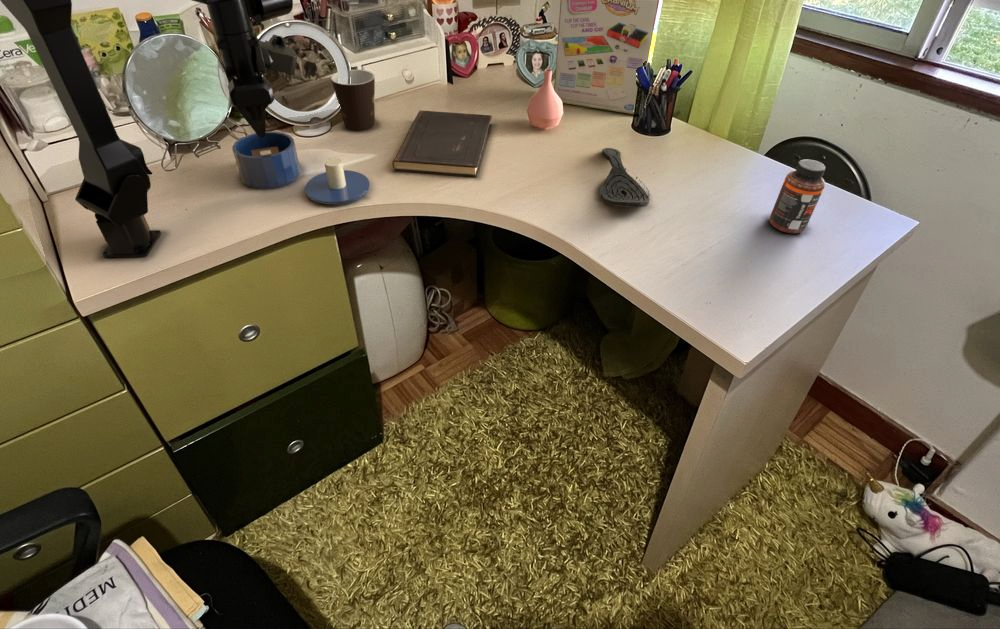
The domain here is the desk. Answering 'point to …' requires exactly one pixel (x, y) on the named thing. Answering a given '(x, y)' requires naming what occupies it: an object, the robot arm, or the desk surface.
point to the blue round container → (267, 160)
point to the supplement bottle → (798, 197)
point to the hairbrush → (621, 184)
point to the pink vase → (545, 105)
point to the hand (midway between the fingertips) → (259, 125)
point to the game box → (604, 51)
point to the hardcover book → (444, 144)
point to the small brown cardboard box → (265, 152)
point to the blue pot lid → (337, 184)
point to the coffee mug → (356, 99)
